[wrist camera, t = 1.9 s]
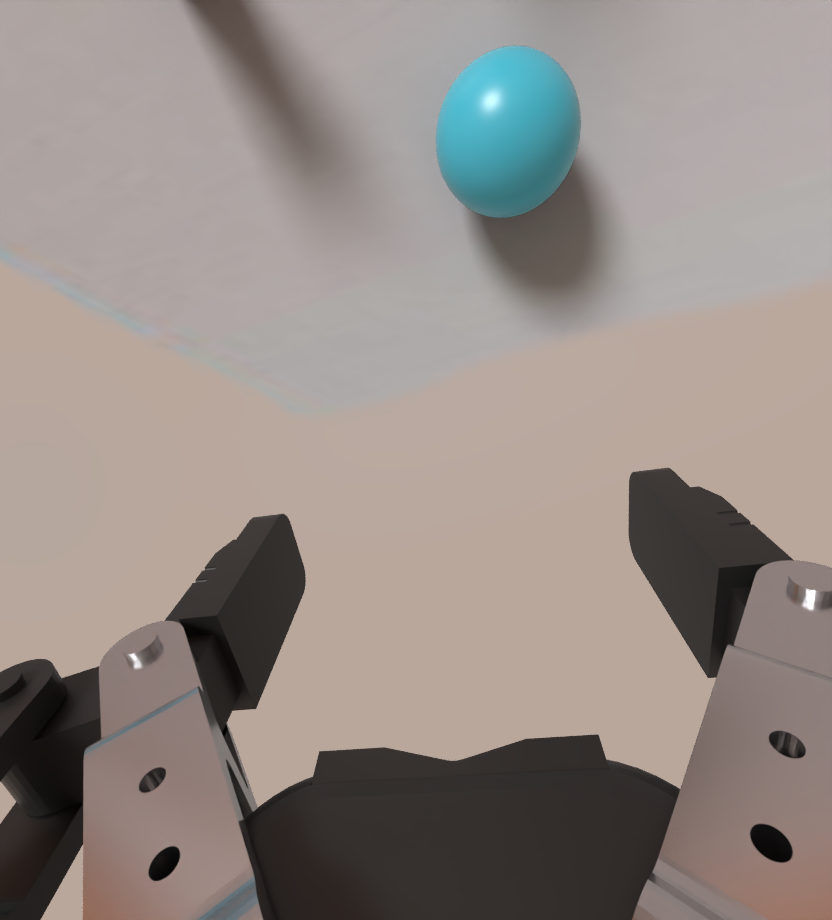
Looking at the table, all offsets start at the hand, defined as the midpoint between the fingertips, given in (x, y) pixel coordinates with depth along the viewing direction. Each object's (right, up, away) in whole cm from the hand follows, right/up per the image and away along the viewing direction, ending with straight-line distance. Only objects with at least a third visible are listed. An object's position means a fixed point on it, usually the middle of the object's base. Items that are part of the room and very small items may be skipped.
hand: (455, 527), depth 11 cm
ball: (+3, +15, +9) cm, 18 cm away
